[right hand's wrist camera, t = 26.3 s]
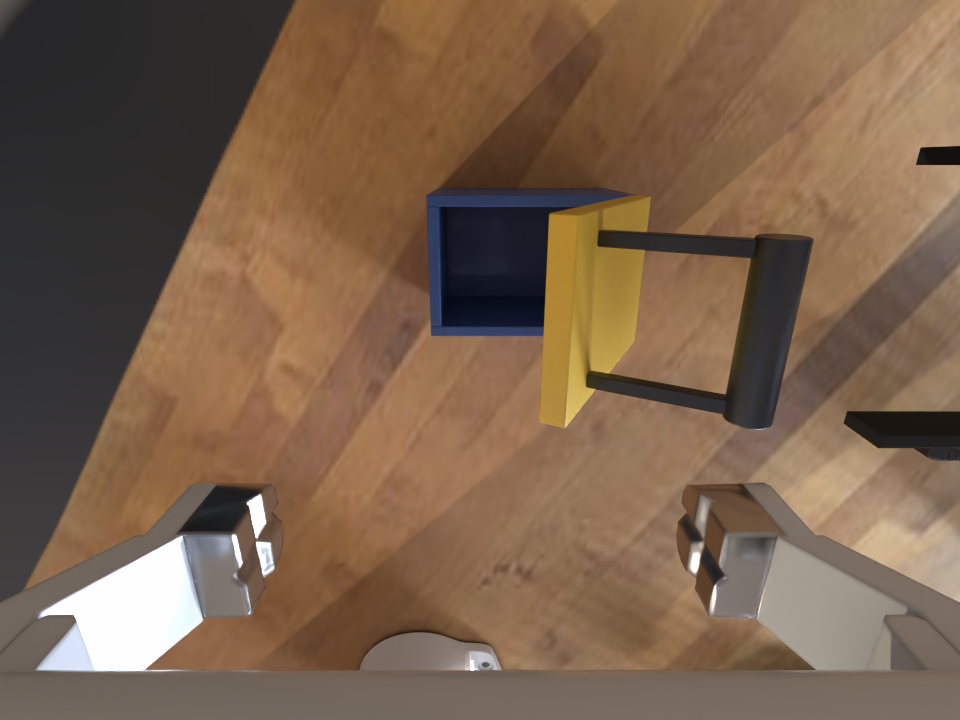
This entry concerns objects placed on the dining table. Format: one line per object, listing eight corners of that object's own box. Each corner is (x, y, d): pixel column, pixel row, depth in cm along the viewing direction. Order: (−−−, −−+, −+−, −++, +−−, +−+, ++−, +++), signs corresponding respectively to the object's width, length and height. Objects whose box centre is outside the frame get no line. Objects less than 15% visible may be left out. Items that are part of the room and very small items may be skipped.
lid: (538, 422, 24) (767, 476, 20) (548, 213, 21) (825, 225, 16) (615, 338, 36) (770, 361, 31) (630, 195, 32) (804, 200, 28)
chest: (440, 302, 45) (431, 336, 36) (437, 188, 41) (426, 194, 33) (594, 302, 45) (622, 336, 36) (603, 188, 41) (637, 195, 33)
